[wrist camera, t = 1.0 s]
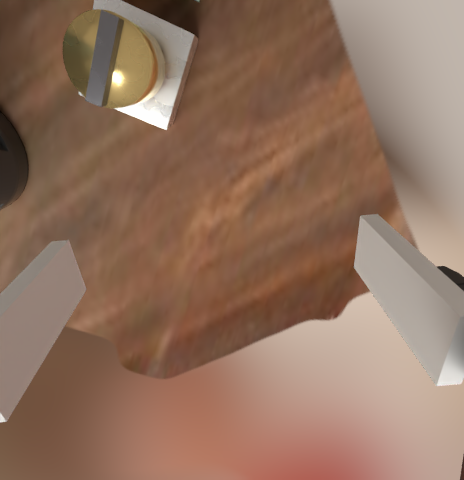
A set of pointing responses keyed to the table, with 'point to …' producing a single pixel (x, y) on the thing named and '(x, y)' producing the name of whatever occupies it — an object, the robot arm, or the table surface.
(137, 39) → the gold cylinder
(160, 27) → the silver square block
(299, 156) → the table surface
